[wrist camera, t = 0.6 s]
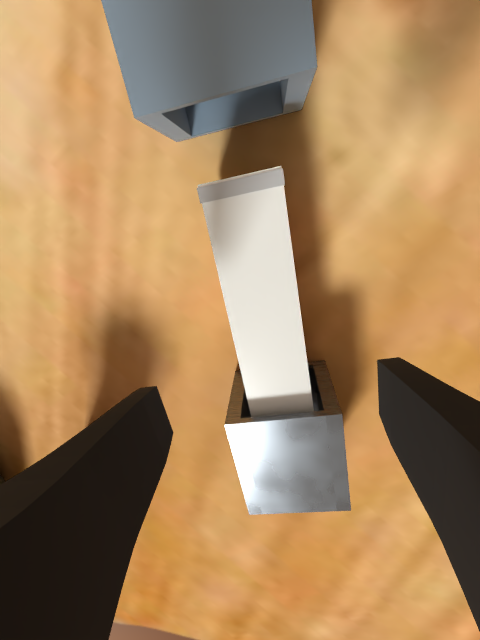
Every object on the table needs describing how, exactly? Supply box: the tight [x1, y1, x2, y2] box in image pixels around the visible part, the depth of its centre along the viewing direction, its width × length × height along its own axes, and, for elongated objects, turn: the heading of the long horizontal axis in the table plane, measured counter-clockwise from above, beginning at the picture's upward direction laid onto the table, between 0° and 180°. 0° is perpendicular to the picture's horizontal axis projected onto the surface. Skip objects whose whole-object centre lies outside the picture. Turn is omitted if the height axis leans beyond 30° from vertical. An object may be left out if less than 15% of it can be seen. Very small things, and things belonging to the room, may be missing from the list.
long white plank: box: [197, 166, 314, 417], centre depth 17 cm, size 4×19×4 cm, turn 12°
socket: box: [101, 0, 317, 142], centre depth 12 cm, size 6×4×5 cm
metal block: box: [225, 360, 351, 515], centre depth 19 cm, size 6×7×5 cm
